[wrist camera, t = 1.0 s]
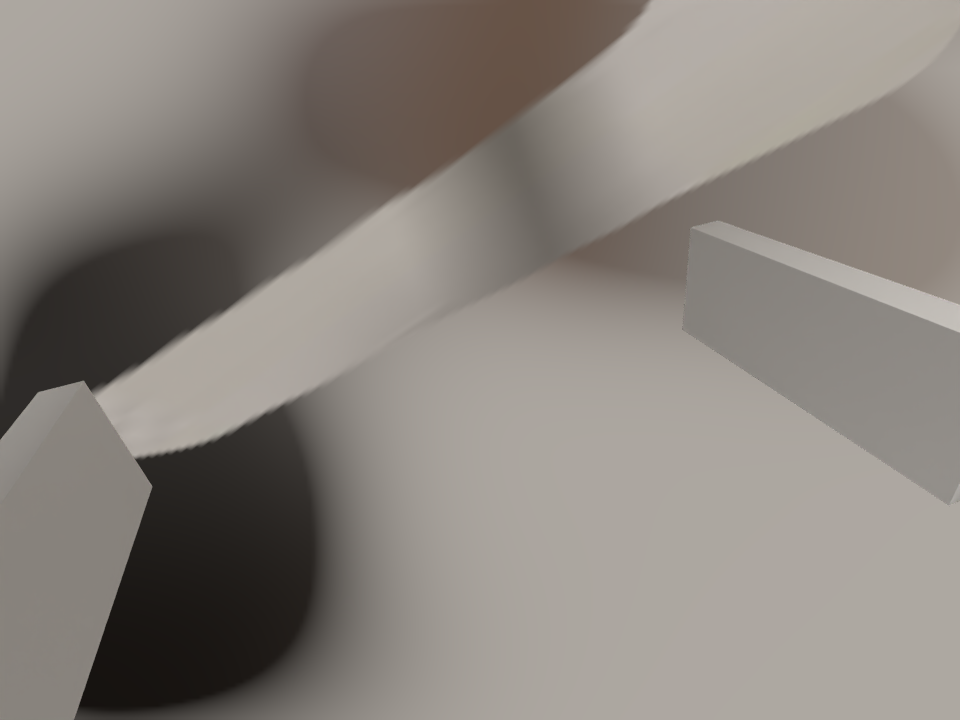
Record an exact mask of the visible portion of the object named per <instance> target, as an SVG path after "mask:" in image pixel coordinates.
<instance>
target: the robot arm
mask: <svg viewBox="0 0 960 720" xmlns="http://www.w3.org/2000/svg"><path fill="white" fill-rule="evenodd" d="M682 329H683V330H684V331H686V332H687V333H688V334H690V335H692V336H693V337H695V338H696V339H698V340H699V341H701V342H702V343H704V344H705V345H707V346H708V347H710V348H711V349H713V350H715V351H716V352H717V353H719V354H720V355H722V356H723V357H725V358H726V359H728V360H729V361H731V362H732V363H734V364H736V365H737V366H739V367H740V368H742V369H743V370H744V371H746V372H748V373H749V374H751V375H752V376H754V377H755V378H757V379H758V380H760V381H761V382H763V383H764V384H766V385H767V386H769V387H770V388H772V389H773V390H775V391H776V392H778V393H779V394H781V395H782V396H784V397H785V398H787V399H788V400H790V401H791V402H793V403H794V404H796V405H797V406H799V407H801V408H802V409H803V410H805V411H807V412H808V413H810V414H811V415H813V416H814V417H816V418H817V419H819V420H820V421H822V422H824V423H825V424H826V425H828V426H829V427H831V428H832V429H834V430H835V431H837V432H838V433H840V434H842V435H843V436H845V437H846V438H847V439H849V440H851V441H852V442H854V443H855V444H857V445H858V446H860V447H861V448H863V449H864V450H866V451H867V452H869V453H870V454H872V455H873V456H875V457H876V458H878V459H879V460H881V461H882V462H884V463H885V464H887V465H888V466H890V467H891V468H893V469H894V470H896V471H898V472H899V473H900V474H902V475H903V476H905V477H906V478H908V479H910V480H911V481H912V482H914V483H916V484H917V485H919V486H920V487H922V488H923V489H925V490H926V491H928V492H929V493H931V494H932V495H934V496H935V497H937V498H938V499H940V500H941V501H943V502H944V503H946V504H947V505H951V504H953V503H955V502H958V501H960V305H959V304H956V303H953V302H950V301H947V300H944V299H941V298H939V297H936V296H933V295H930V294H927V293H924V292H921V291H919V290H916V289H913V288H910V287H907V286H904V285H901V284H899V283H896V282H893V281H890V280H887V279H884V278H881V277H879V276H876V275H873V274H870V273H867V272H864V271H861V270H858V269H856V268H853V267H850V266H847V265H844V264H841V263H839V262H835V261H833V260H830V259H827V258H824V257H821V256H819V255H816V254H813V253H810V252H807V251H804V250H801V249H798V248H796V247H793V246H789V245H787V244H784V243H781V242H778V241H776V240H772V239H770V238H767V237H764V236H761V235H758V234H755V233H753V232H750V231H747V230H744V229H741V228H738V227H736V226H733V225H730V224H727V223H724V222H721V221H715V222H711V223H707V224H703V225H699V226H695V227H691V232H690V244H689V257H688V268H687V280H686V292H685V304H684V316H683V328H682ZM151 489H152V485H151V484H150V482H149V481H148V479H147V478H146V476H145V475H144V473H143V472H142V470H141V468H140V467H139V465H138V464H137V462H136V461H135V459H134V458H133V456H132V455H131V453H130V451H129V450H128V448H127V447H126V445H125V444H124V442H123V441H122V439H121V438H120V436H119V435H118V433H117V431H116V430H115V428H114V427H113V425H112V424H111V422H110V421H109V419H108V418H107V416H106V414H105V413H104V411H103V410H102V408H101V407H100V405H99V404H98V402H97V401H96V399H95V397H94V396H93V394H92V393H91V391H90V390H89V389H88V387H87V385H86V384H85V382H84V381H81V382H77V383H74V384H69V385H66V386H62V387H58V388H54V389H50V390H46V391H42V392H38V394H37V395H36V396H35V397H34V398H33V400H32V401H31V402H30V403H29V405H28V406H27V407H26V409H25V410H24V411H23V412H22V414H21V415H20V416H19V417H18V419H17V420H16V421H15V422H14V424H13V425H12V427H11V428H10V429H9V430H8V431H7V433H6V434H5V435H4V437H3V438H2V439H1V440H0V720H74V718H75V715H76V712H77V709H78V706H79V703H80V700H81V697H82V693H83V691H84V688H85V685H86V682H87V679H88V676H89V673H90V670H91V667H92V664H93V661H94V658H95V654H96V652H97V649H98V646H99V643H100V640H101V637H102V634H103V631H104V628H105V625H106V622H107V620H108V617H109V614H110V610H111V608H112V605H113V602H114V599H115V595H116V593H117V589H118V586H119V584H120V580H121V578H122V575H123V572H124V569H125V566H126V563H127V560H128V557H129V554H130V551H131V548H132V545H133V542H134V539H135V536H136V533H137V530H138V527H139V524H140V521H141V518H142V515H143V512H144V509H145V506H146V503H147V500H148V498H149V495H150V492H151Z"/></svg>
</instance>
